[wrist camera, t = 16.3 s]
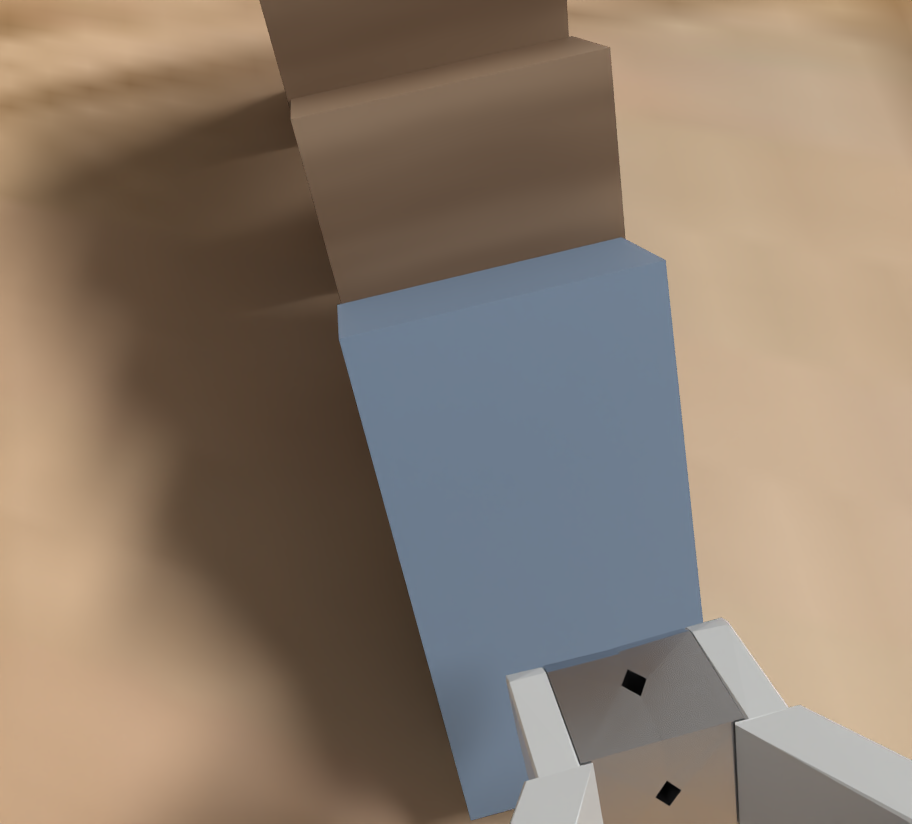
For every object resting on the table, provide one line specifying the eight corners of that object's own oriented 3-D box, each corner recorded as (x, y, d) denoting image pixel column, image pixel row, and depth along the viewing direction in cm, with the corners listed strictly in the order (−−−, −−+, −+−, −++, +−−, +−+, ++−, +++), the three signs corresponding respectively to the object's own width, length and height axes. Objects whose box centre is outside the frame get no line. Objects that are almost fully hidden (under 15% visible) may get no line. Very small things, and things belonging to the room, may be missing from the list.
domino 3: (716, 752, 16) (665, 260, 12) (470, 820, 16) (338, 338, 12) (676, 684, 18) (621, 237, 14) (456, 744, 18) (337, 305, 14)
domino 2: (649, 544, 18) (609, 47, 13) (424, 602, 17) (290, 119, 12) (618, 491, 19) (572, 36, 14) (412, 544, 19) (291, 99, 14)
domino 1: (587, 371, 19) (560, -130, 13) (378, 423, 19) (241, -63, 12) (561, 324, 21) (525, -145, 14) (368, 371, 20) (241, -86, 14)
